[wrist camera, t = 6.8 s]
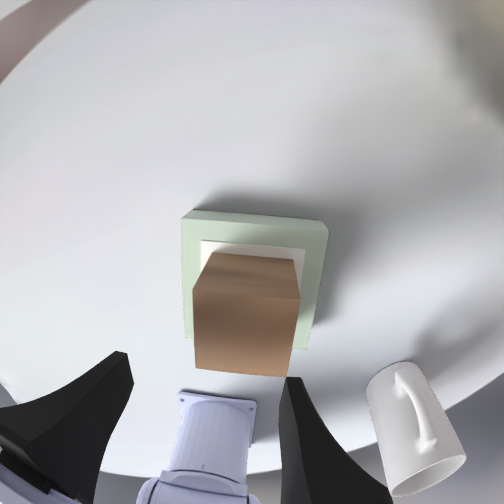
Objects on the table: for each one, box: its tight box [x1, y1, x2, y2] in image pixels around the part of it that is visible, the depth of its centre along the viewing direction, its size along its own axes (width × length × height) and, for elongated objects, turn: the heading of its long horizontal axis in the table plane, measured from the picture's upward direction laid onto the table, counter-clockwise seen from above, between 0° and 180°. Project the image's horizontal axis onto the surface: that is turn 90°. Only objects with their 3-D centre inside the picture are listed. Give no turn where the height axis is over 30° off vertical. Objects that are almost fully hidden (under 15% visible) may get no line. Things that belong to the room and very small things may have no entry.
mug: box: [366, 362, 466, 497], centre depth 18 cm, size 10×7×12 cm, turn 21°
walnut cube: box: [192, 252, 301, 377], centre depth 16 cm, size 5×5×5 cm
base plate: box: [181, 210, 329, 349], centre depth 20 cm, size 9×9×3 cm
